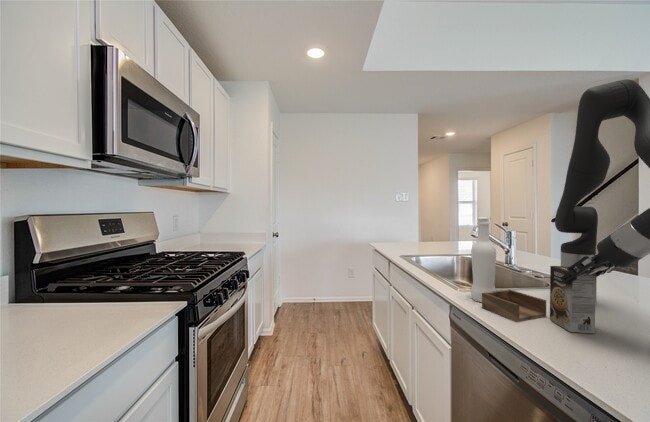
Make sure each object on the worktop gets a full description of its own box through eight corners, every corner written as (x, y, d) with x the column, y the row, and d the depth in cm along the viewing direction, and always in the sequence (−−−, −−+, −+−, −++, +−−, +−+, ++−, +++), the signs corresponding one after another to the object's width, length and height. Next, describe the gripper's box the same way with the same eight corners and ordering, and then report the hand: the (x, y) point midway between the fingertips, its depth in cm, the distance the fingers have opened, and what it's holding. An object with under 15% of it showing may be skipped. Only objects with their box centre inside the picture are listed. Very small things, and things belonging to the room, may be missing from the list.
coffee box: (548, 319, 87) (549, 265, 87) (572, 320, 86) (573, 266, 86) (569, 332, 78) (570, 272, 78) (596, 333, 77) (597, 272, 77)
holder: (509, 303, 102) (509, 289, 102) (546, 316, 90) (546, 300, 90) (481, 307, 98) (481, 293, 98) (516, 322, 86) (516, 305, 86)
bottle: (500, 304, 101) (500, 217, 100) (474, 303, 103) (474, 217, 102) (491, 297, 109) (491, 216, 108) (468, 296, 111) (468, 216, 110)
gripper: (632, 230, 75) (580, 266, 86) (595, 232, 70) (546, 270, 81) (661, 254, 70) (602, 289, 81) (624, 258, 65) (567, 295, 76)
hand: (574, 280), depth 81 cm, fingers closed on coffee box, 8 cm apart
